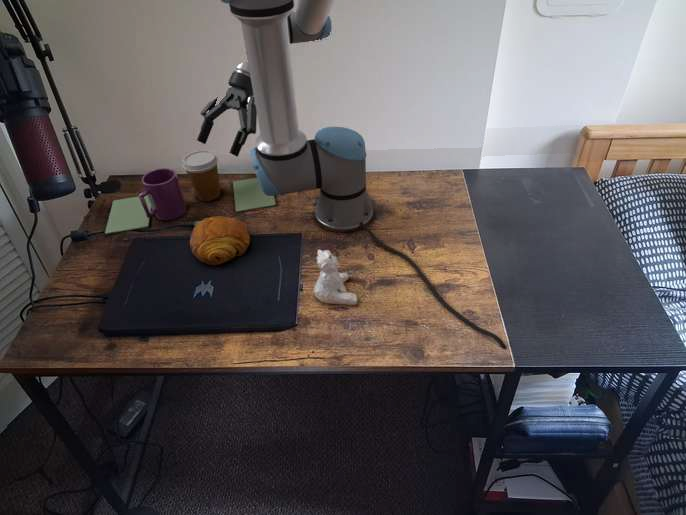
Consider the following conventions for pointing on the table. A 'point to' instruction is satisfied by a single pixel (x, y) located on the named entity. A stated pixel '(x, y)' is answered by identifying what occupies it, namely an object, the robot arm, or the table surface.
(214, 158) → the disposable coffee cup
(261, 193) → the cup mat
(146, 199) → the mug mat
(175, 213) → the plum mug
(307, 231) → the table surface
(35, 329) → the table surface
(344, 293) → the white creature statuette
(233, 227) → the croissant
